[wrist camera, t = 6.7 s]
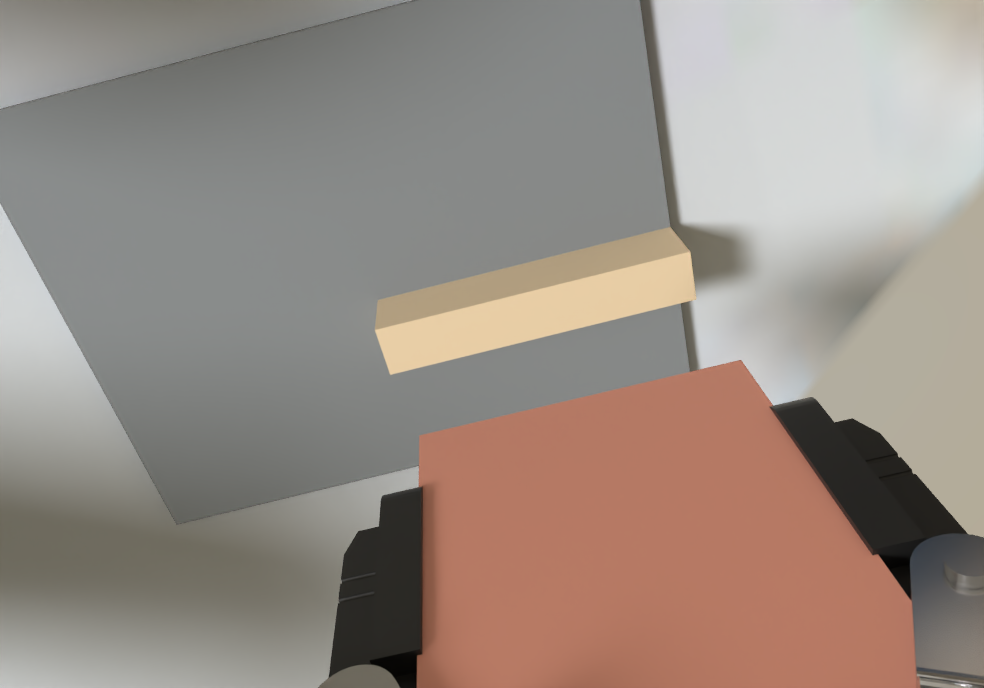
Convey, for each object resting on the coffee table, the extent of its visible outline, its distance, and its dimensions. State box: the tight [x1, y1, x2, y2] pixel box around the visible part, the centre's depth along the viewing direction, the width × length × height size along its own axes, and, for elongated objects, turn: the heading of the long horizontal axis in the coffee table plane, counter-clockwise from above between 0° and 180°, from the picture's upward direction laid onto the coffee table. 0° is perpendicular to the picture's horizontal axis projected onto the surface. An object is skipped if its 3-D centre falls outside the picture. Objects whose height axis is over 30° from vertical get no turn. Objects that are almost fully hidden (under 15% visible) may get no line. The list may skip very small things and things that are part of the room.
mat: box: [0, 0, 696, 524], centre depth 23 cm, size 18×14×2 cm
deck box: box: [417, 360, 916, 688], centre depth 12 cm, size 6×2×8 cm, turn 103°
